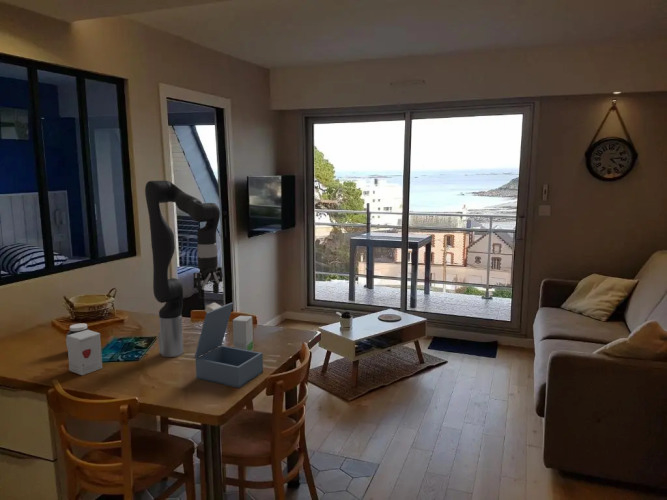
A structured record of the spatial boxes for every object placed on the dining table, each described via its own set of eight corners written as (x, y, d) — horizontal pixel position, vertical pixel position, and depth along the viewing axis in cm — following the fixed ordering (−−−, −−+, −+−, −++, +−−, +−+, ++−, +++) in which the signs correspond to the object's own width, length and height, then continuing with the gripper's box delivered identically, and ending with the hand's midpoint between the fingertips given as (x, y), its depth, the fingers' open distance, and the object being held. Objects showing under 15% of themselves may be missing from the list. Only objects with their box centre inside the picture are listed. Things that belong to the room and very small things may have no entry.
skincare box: (246, 355, 207) (245, 321, 204) (232, 354, 208) (231, 320, 205) (253, 348, 215) (253, 315, 212) (240, 347, 216) (239, 314, 213)
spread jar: (87, 345, 218) (85, 321, 216) (100, 351, 212) (98, 325, 210) (60, 353, 208) (57, 328, 207) (72, 359, 202) (70, 333, 200)
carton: (196, 378, 183) (195, 358, 182) (222, 363, 198) (221, 345, 196) (239, 388, 175) (238, 367, 174) (263, 372, 190) (262, 353, 188)
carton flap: (195, 358, 182) (185, 352, 184) (221, 345, 196) (212, 339, 198) (207, 313, 176) (197, 307, 178) (233, 302, 191) (223, 297, 192)
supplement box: (81, 376, 185) (78, 339, 183) (68, 371, 190) (65, 335, 188) (103, 368, 193) (100, 332, 191) (90, 363, 198) (87, 329, 195)
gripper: (211, 251, 190) (212, 291, 193) (186, 257, 178) (188, 299, 180) (226, 253, 187) (228, 293, 190) (202, 258, 175) (204, 301, 177)
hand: (208, 296), depth 185 cm, fingers open, 8 cm apart
